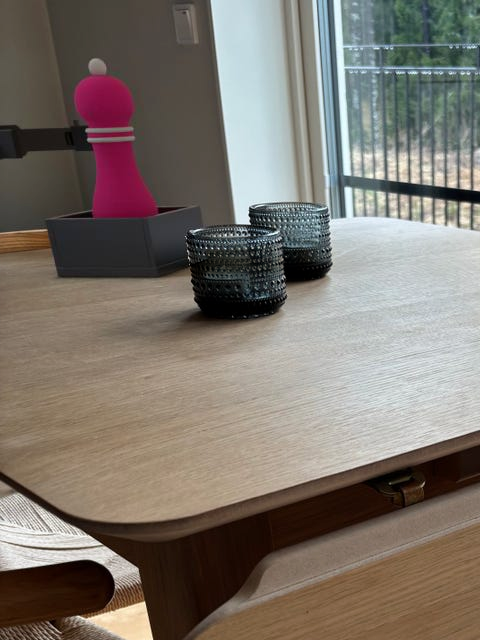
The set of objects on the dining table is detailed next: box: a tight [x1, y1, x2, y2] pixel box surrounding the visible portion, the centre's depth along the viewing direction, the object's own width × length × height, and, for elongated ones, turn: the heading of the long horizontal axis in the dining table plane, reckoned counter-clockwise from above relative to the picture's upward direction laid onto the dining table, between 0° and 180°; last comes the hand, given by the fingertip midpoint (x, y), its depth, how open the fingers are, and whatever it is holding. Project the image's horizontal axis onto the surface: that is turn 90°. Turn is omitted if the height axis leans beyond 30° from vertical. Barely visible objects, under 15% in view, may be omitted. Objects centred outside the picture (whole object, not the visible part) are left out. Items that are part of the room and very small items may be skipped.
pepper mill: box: [74, 58, 159, 218], centre depth 108 cm, size 7×7×20 cm
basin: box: [44, 205, 204, 278], centre depth 112 cm, size 12×12×6 cm
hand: (67, 140), depth 110 cm, fingers open, 13 cm apart
